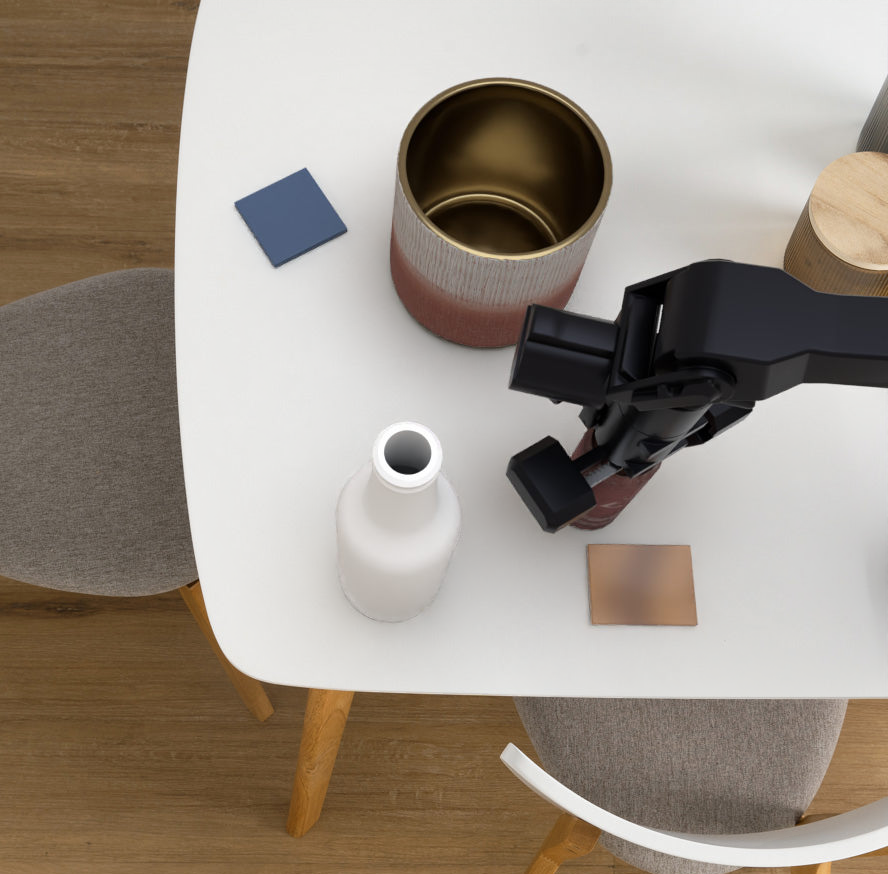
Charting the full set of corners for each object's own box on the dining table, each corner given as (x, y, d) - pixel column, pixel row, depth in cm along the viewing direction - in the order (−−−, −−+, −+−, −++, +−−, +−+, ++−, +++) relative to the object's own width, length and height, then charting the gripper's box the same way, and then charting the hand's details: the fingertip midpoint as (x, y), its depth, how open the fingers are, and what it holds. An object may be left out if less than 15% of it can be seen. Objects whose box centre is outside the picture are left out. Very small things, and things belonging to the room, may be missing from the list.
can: (620, 467, 87) (668, 406, 73) (618, 535, 85) (667, 485, 72) (553, 460, 87) (588, 398, 73) (550, 528, 85) (585, 476, 72)
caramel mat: (688, 546, 85) (690, 545, 84) (695, 626, 83) (697, 624, 82) (586, 545, 84) (587, 543, 84) (590, 625, 82) (592, 623, 82)
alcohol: (334, 530, 84) (321, 389, 56) (433, 518, 85) (472, 373, 56) (346, 630, 82) (339, 536, 53) (448, 617, 82) (496, 517, 54)
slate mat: (306, 170, 95) (305, 166, 95) (347, 231, 93) (347, 228, 93) (234, 205, 94) (233, 202, 93) (275, 268, 92) (274, 265, 91)
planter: (561, 185, 96) (599, 70, 80) (585, 348, 90) (631, 256, 75) (382, 193, 95) (387, 78, 80) (396, 358, 89) (403, 267, 74)
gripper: (698, 246, 69) (637, 346, 83) (478, 368, 65) (455, 449, 80) (796, 370, 66) (715, 450, 81) (571, 504, 62) (530, 561, 77)
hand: (603, 474), depth 80 cm, fingers open, 9 cm apart
